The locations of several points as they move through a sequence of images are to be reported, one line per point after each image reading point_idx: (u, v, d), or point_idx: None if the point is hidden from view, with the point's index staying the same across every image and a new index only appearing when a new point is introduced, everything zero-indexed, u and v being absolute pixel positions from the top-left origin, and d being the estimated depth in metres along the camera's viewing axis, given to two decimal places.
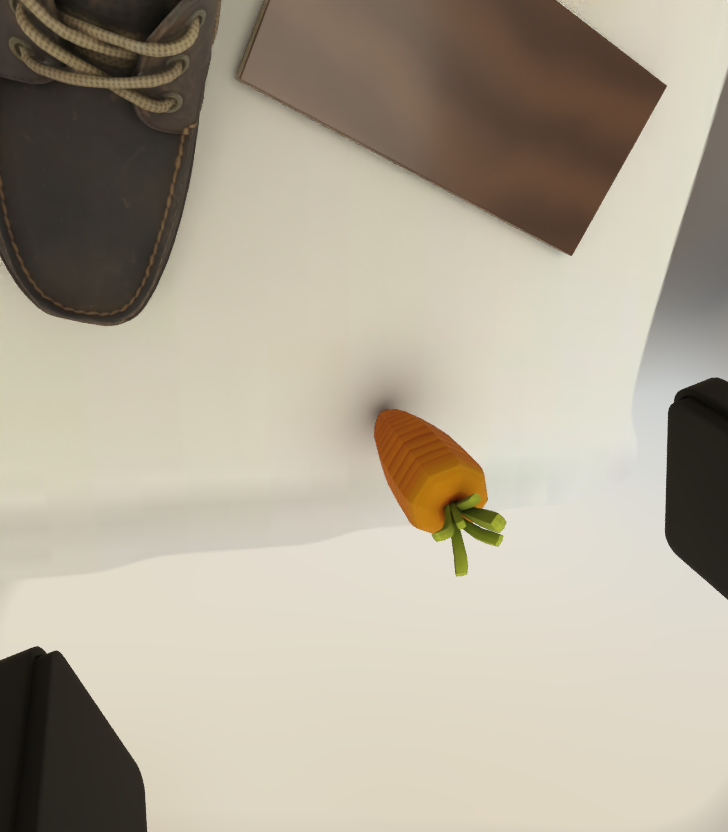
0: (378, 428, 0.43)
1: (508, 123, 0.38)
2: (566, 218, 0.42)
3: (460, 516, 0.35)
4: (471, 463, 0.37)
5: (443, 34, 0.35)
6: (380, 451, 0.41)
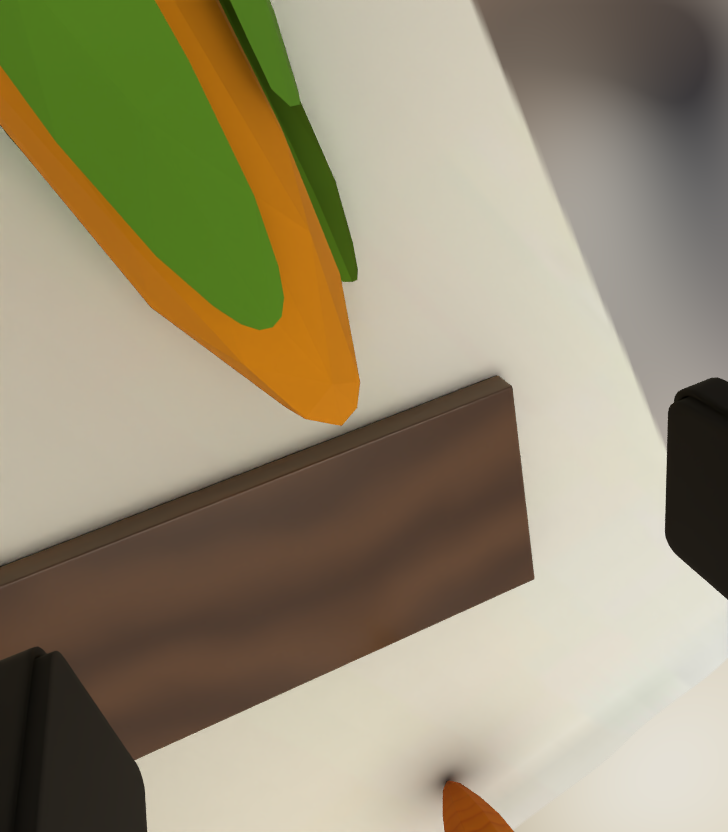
0: None
1: (350, 582, 0.29)
2: (497, 568, 0.32)
3: None
4: None
5: (204, 605, 0.27)
6: None
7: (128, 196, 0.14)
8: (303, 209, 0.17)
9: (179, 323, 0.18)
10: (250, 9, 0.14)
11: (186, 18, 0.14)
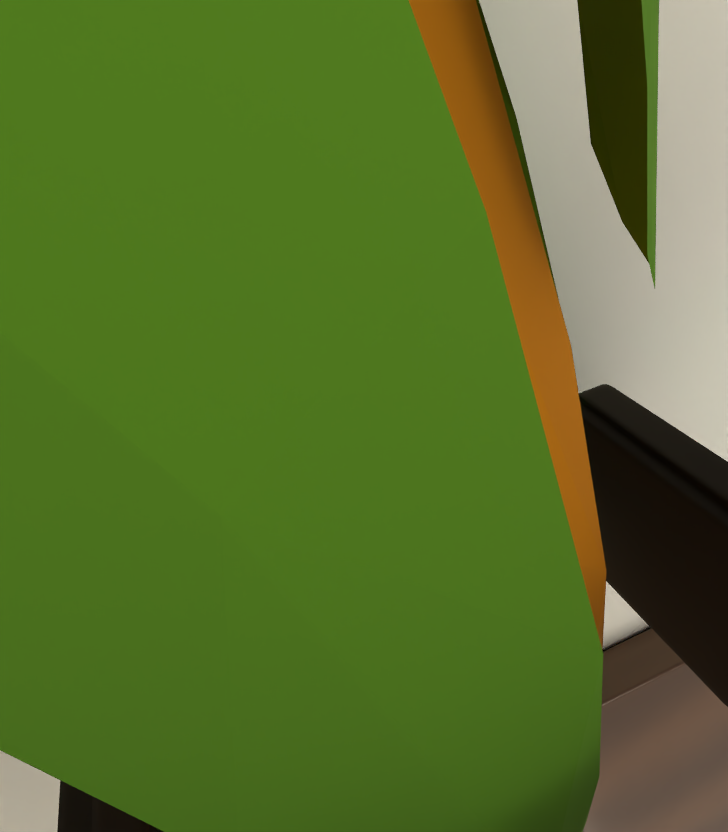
0: None
1: None
2: None
3: None
4: None
5: None
6: None
7: (146, 763, 0.03)
8: (596, 517, 0.07)
9: None
10: None
11: None
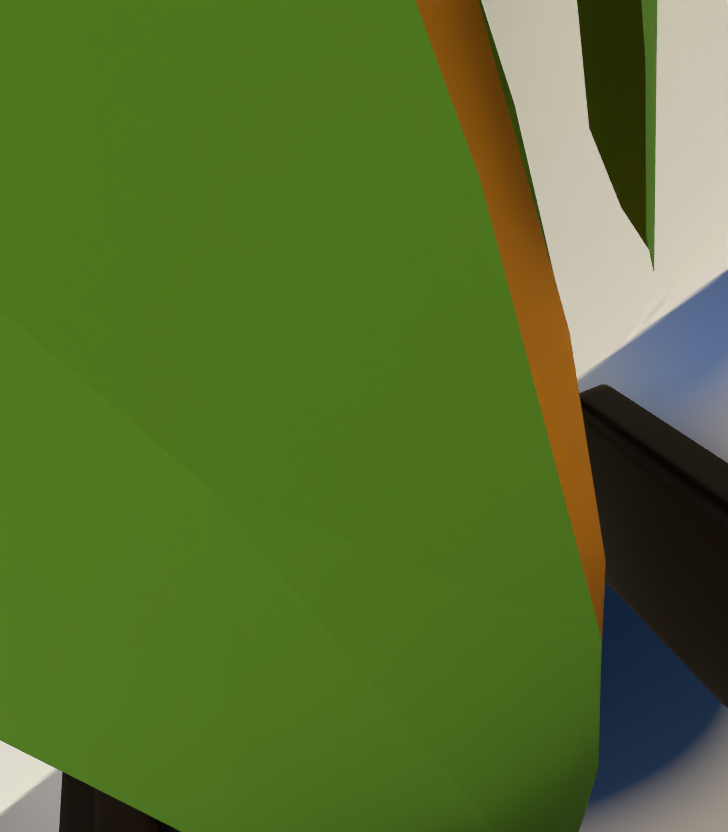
0: None
1: None
2: None
3: None
4: None
5: None
6: None
7: (134, 745, 0.03)
8: (595, 507, 0.06)
9: None
10: None
11: None
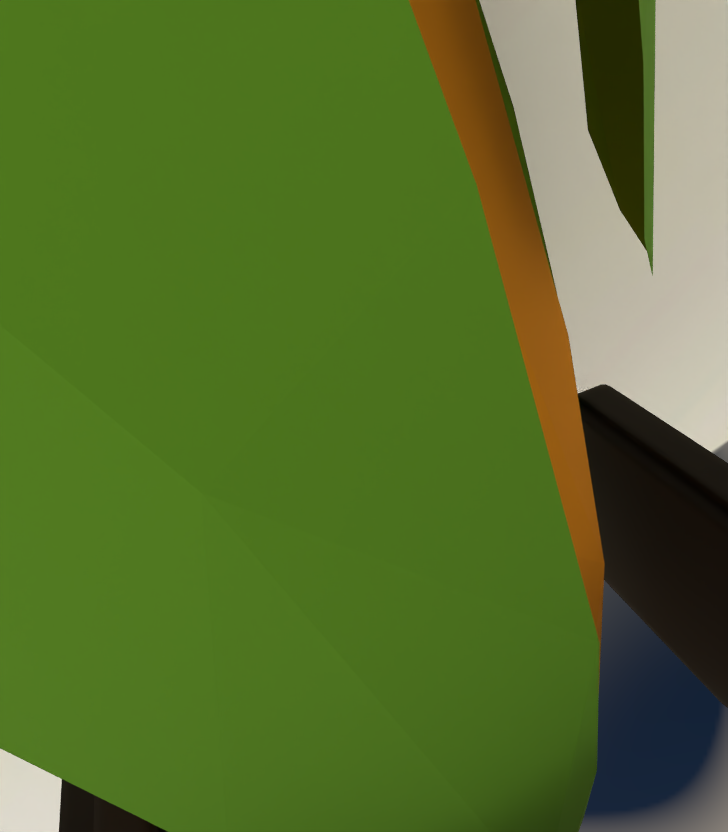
0: None
1: None
2: None
3: None
4: None
5: None
6: None
7: (133, 752, 0.03)
8: (594, 509, 0.06)
9: None
10: None
11: None
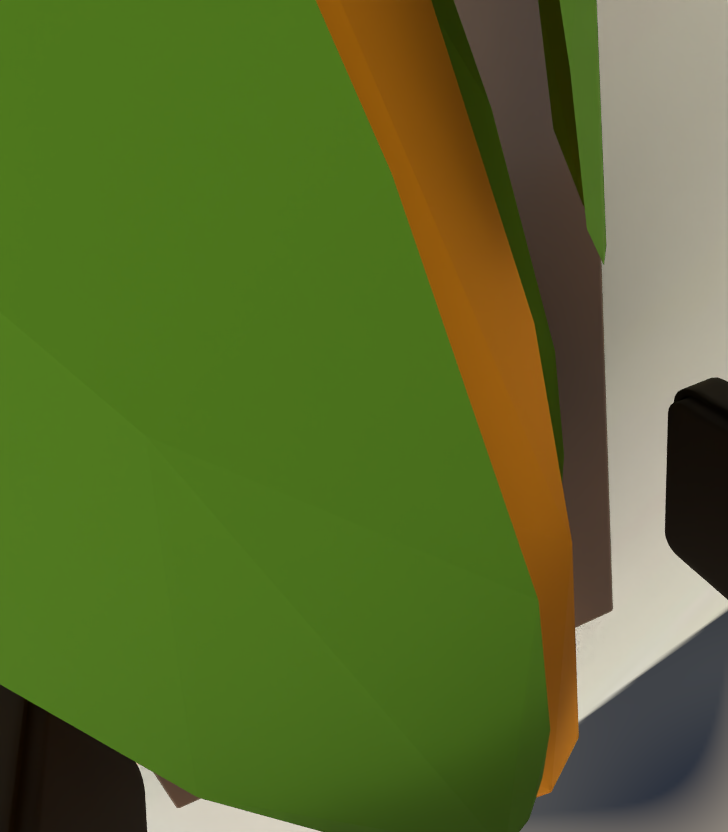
0: None
1: None
2: None
3: None
4: None
5: None
6: None
7: (100, 681, 0.04)
8: (561, 490, 0.07)
9: None
10: None
11: None
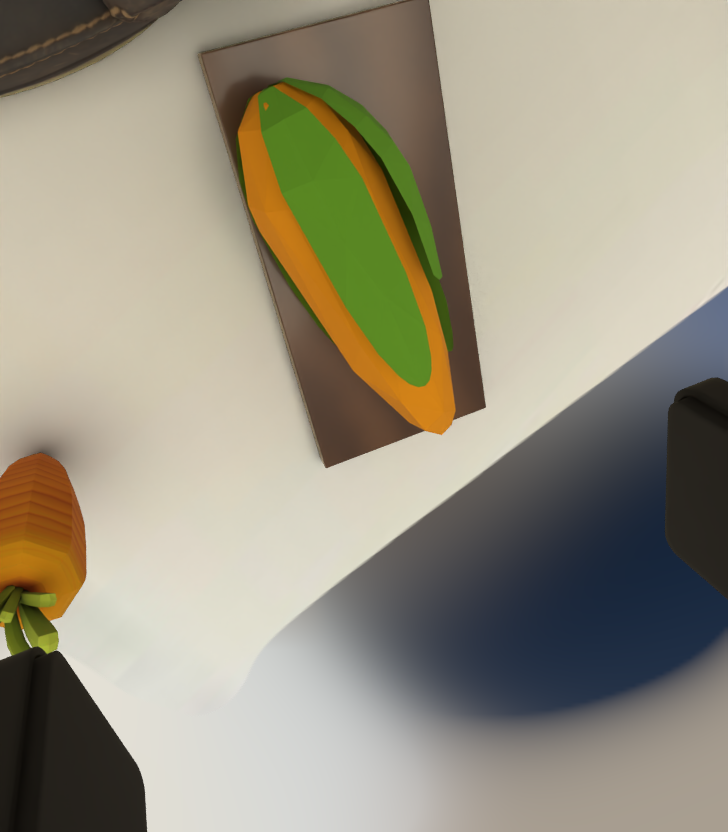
0: (21, 462, 0.34)
1: None
2: (346, 434, 0.41)
3: (14, 607, 0.26)
4: (80, 564, 0.29)
5: None
6: None
7: (372, 328, 0.30)
8: (438, 324, 0.34)
9: (368, 379, 0.35)
10: (428, 242, 0.31)
11: (399, 246, 0.31)
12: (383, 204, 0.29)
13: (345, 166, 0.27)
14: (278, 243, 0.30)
